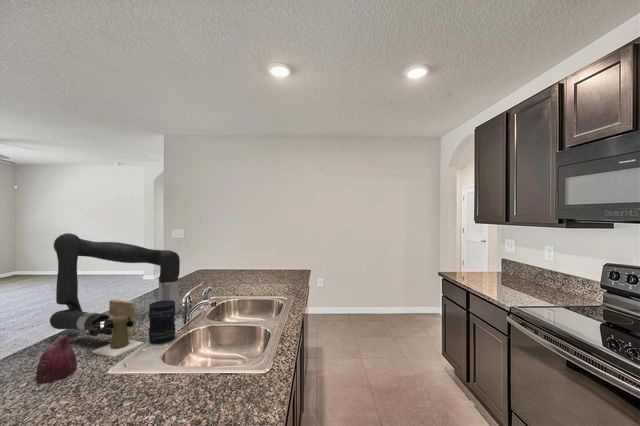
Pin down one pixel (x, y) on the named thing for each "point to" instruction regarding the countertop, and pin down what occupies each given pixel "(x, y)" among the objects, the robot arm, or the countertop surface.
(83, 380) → the countertop surface
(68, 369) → the vegetable
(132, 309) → the maple board
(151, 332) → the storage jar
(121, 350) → the coaster
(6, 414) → the countertop surface
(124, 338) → the cork
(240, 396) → the countertop surface
